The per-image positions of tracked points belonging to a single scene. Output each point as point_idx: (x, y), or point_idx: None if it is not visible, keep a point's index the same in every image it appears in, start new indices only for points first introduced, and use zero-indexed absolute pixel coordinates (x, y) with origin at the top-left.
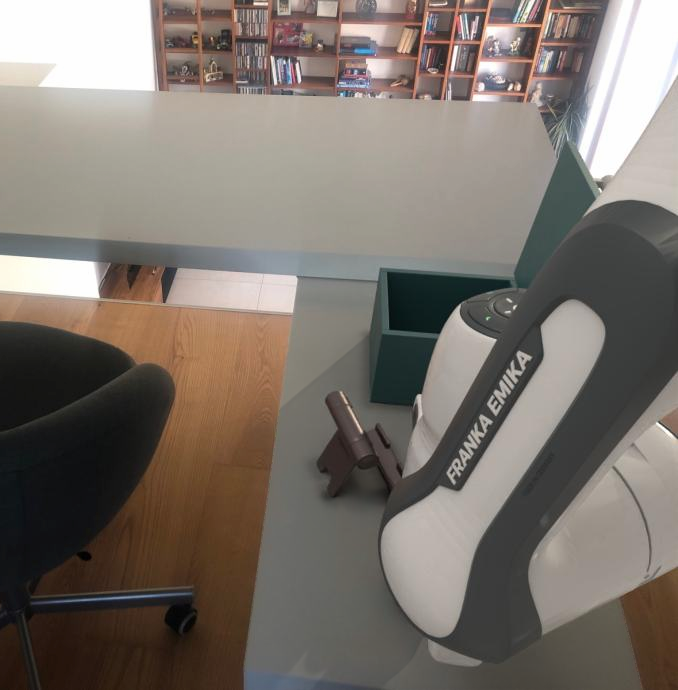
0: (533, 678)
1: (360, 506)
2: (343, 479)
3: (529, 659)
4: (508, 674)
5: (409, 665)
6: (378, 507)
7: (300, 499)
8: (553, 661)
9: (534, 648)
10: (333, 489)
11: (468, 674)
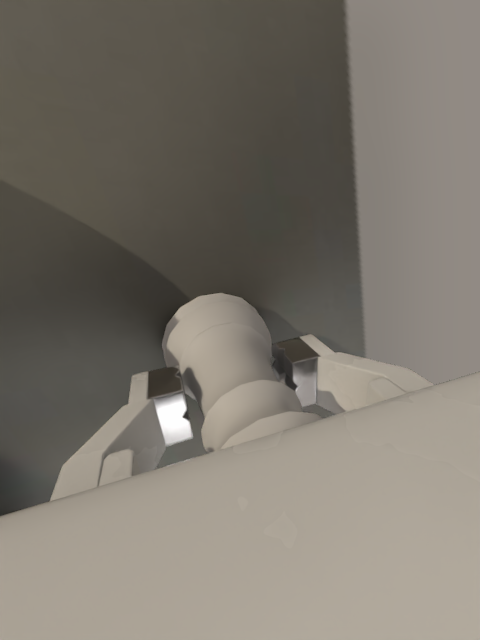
0: (344, 112)
1: (41, 491)
2: None
3: (307, 115)
4: (341, 171)
5: (341, 341)
6: (22, 464)
7: None
8: (303, 47)
9: (280, 97)
10: None
11: (347, 249)
